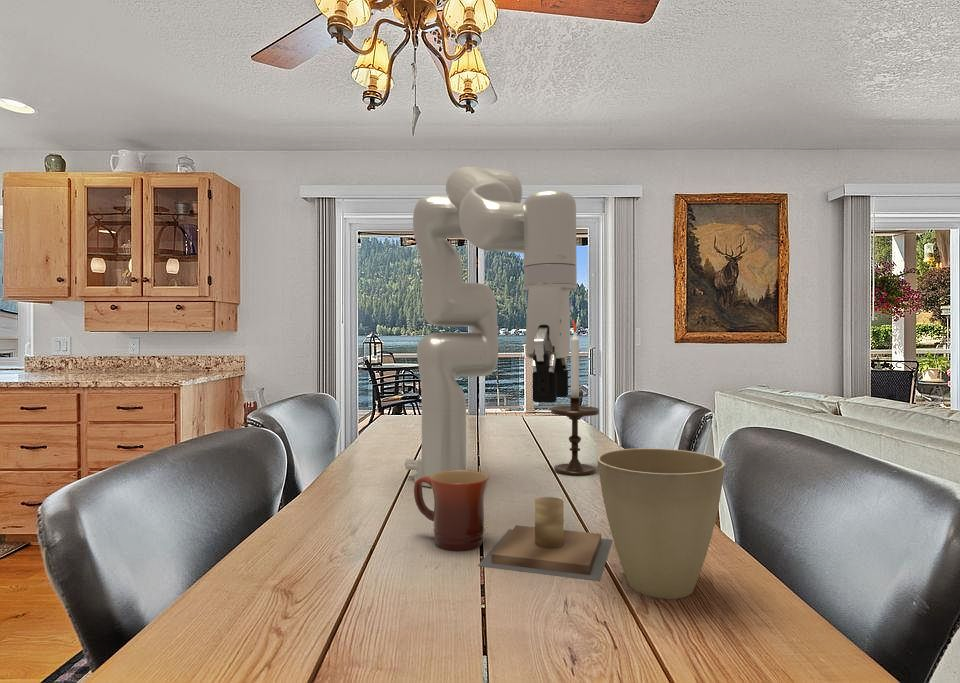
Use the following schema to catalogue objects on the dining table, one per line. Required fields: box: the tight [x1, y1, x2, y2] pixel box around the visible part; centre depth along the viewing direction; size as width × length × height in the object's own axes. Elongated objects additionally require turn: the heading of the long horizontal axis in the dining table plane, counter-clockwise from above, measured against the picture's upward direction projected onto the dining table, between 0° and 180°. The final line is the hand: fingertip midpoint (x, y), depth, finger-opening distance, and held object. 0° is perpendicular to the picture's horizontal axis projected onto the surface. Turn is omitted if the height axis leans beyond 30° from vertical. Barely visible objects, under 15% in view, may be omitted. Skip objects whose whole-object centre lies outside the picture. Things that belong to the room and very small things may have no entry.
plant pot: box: [596, 447, 726, 600], centre depth 74 cm, size 15×15×16 cm
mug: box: [413, 469, 490, 552], centre depth 90 cm, size 12×9×10 cm
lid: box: [492, 496, 602, 575], centre depth 85 cm, size 13×13×7 cm
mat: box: [477, 528, 614, 582], centre depth 85 cm, size 16×16×1 cm
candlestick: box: [550, 318, 600, 477], centre depth 138 cm, size 11×11×35 cm
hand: (551, 399), depth 87 cm, fingers open, 9 cm apart
